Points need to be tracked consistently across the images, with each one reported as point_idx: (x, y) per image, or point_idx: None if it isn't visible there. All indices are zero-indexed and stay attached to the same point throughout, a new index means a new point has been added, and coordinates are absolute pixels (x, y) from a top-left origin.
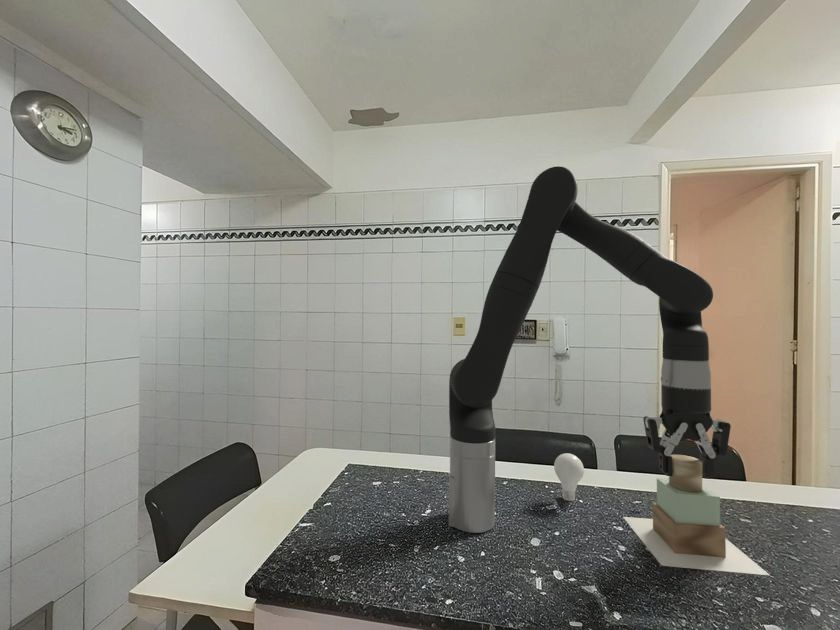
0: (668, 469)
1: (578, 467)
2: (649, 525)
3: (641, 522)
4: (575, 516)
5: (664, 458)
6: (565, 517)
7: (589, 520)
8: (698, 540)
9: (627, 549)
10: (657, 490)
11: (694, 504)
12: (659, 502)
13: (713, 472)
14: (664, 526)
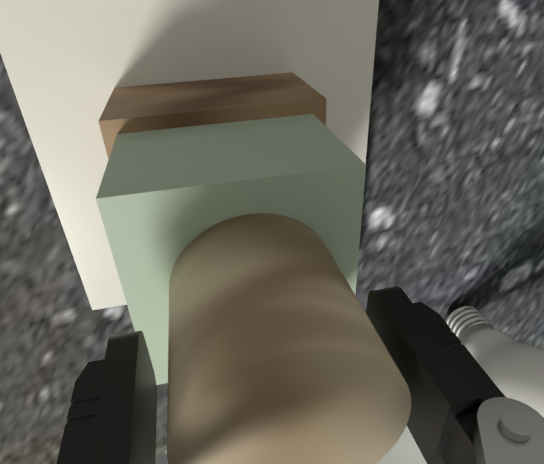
0: (418, 312)
1: (534, 392)
2: None
3: None
4: (475, 245)
5: (478, 385)
6: (506, 231)
7: (446, 235)
8: (216, 92)
9: (416, 92)
10: None
11: (249, 155)
12: None
13: (77, 384)
14: None
